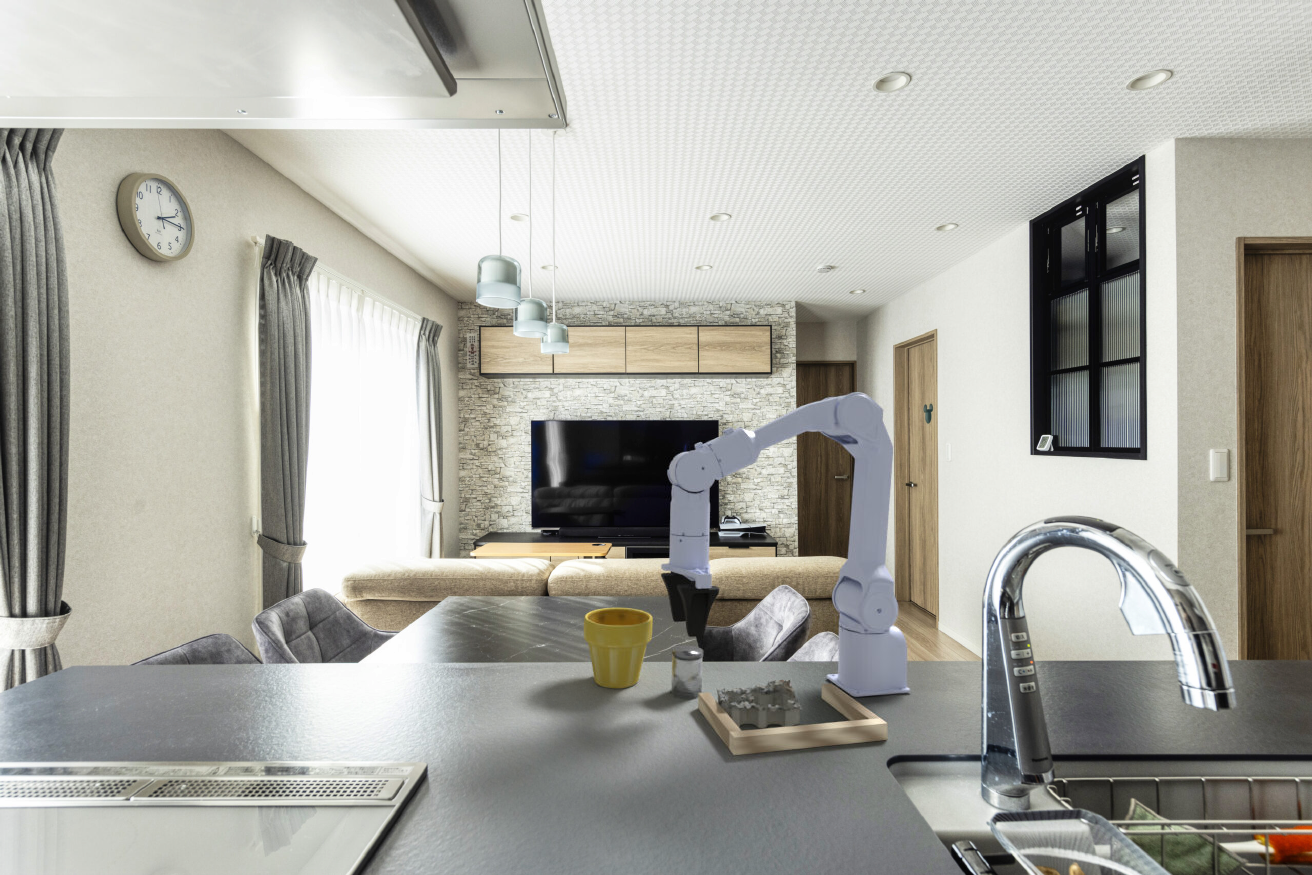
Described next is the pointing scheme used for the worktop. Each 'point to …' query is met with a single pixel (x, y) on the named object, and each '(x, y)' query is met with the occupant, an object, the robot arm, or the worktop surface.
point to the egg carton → (761, 704)
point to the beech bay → (798, 727)
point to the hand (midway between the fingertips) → (687, 628)
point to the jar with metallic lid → (686, 671)
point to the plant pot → (617, 644)
